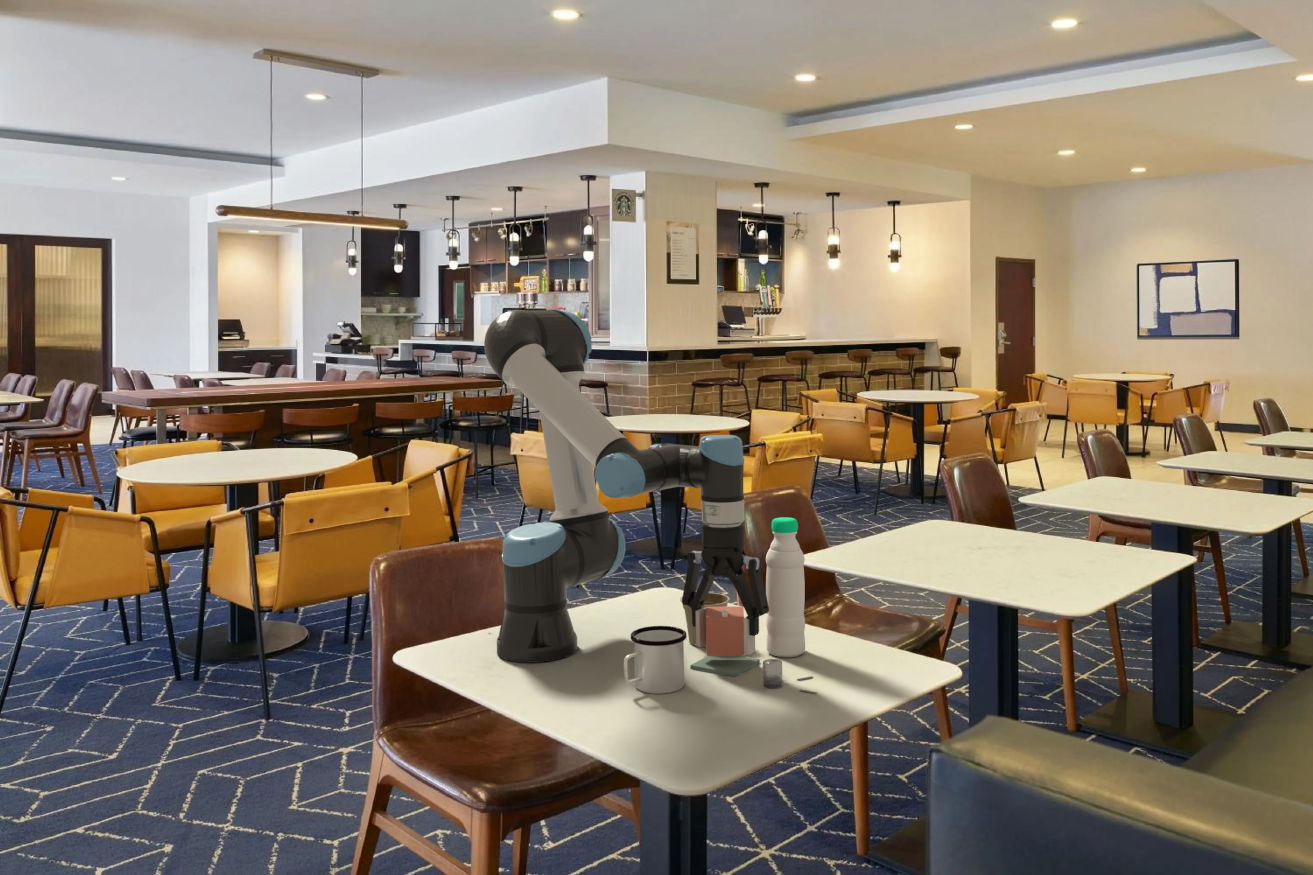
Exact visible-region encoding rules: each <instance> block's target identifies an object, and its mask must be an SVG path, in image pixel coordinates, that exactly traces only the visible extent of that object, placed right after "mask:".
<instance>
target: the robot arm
mask: <svg viewBox="0 0 1313 875" xmlns="http://www.w3.org/2000/svg"><path fill="white" fill-rule="evenodd" d="M483 342H484V344H483V345H484V353H485V357H486V360H487V362H488V364H489V365H490V367H491V369H492V370H493V371H494V373H495V374H496V375H497V376H498V378H499V379H501V381H502V382H504V383H505V385H507V386H509V387H513V388H517V389H518V390H519V391H520V392H521V393H522V394H523V395H524V396H525V397H526V398H527V399H528V401H530V402H531V403H532V405H534V407H535V408H536V409H537V410H539V416H540V421H541V428H542V434H543V440H544V446H545V452H546V453H545V454H546V460H547V465H548V471H549V477H550V483H551V484H550V485H551V488H552V490H551V491H552V495H553V500H554V506H555V507H554V508H555V510H554V511H553V513H552V514H551V516H550V517H549V522H547V521H546V522H545V521H544V522H541V521H540V522H536V523H529V524H525V525H521V526H518V527H516V528H513V529H511V530H510V531H508V532H507V533H506V535H505V536H504V538H503V541H502V553H501V560H502V561H501V562H502V575H503V576H502V578H503V594H504V600H503V601H504V614H503V618H502V621H501V624H500V629H499V632H498V637H497V638H496V654H497V655H498V657H499V658H501V659H504V660H507V661H510V662H516V663H517V662H519V663H542V662H550V661H557V660H560V659H565V658H566V657H570V656H571V655H573V654H575V653H576V652H577V651H578V635H577V633H576V632H575V629H574V626H573V622H572V619H571V617H570V612H569V611H568V604H567V603H568V602H567V601H568V599H567V598H568V597H567V595H568V594H567V589H569V588H572V587H575V586H578V585H582V584H585V583H589V582H592V581H600V580H601V579H603V578H605V577H607V576H610V575H612V574H614V573H615V572H616V571H617V570H618V569H619V567H620V565H621V564H622V562H623V560H624V558H625V552H626V539H625V534H624V532H623V530H622V528H621V527H620V526H618V522H616V520H613V519H612V518H610V516H609V509H608V508H607V507H606V506H604V505H603V504H602V503H601V502H600V501H599V497H598V490H597V486H596V483H597V485H598V489H599V491H600V492H601V493H602V494H603V495H604V496H607V497H609V498H612V499H620V498H621V499H622V498H624V499H625V498H632V497H635V496H638V495H643V494H647V493H652V492H653V493H654V492H658V491H663V490H667V489H672V488H677V487H678V488H695V489H700V495H701V496H700V498H701V500H700V502H701V504H700V505H701V522H702V523H704V524H702V526H701V543H702V545H703V546H702V550H701V551H700V550H698V549H695V550H692V551H690V552H688V553H687V555H686V558H687V564H688V565H687V572H686V577H685V581H684V587H683V591H682V592H683V594H682V596H683V597H682V596H681V597H682V602H681V604H682V606H683V605H688V606H689V607H691V609H692V624H693V626H694V627H696V645H695V646H696V647H697V648H701V646H703V645H705V644H706V608H704V607H703V608H702V606H704V605H705V604H704V602H705V599H706V597H707V595H708V593H710V590H711V588H712V586H713V584H714V582H715V579H716V577H721V576H722V577H724V578H728V579H729V581H730V582H731V584H733V586H734V588H735V590H736V593H737V596H738V598H739V599H740V602H741V604H742V607H743V610H744V612H745V614H746V615H747V616H744V656H749V655H751V654H753V653H754V652H756V636H757V635H759V633H760V617H762V616H763V615H766V614H768V612H769V606H768V601H767V597H766V587H765V583H764V579H763V574H762V570H761V568H762V558H761V557H760V556H757V557H752V556H748V555H747V554H746V551H745V545H746V544H745V543H746V536H745V535H746V532H745V531H746V530H745V525H744V524H743V522H744V521H745V515H746V514H745V497H744V472H745V471H744V466H745V465H744V464H745V458H744V450H743V449H744V446H743V440H742V438H740V437H739V436H737V435H734V434H710V435H705V436H702V437H701V438H700V439H699V440H700V441H699V445H688V444H687V445H686V444H674V443H671V442H670V443H669V442H667V443H654V444H651V445H650V446H649V447H648V448H646V449H645V448H644V449H638V448H637V446H635V445H634V444H633V443H632V442H631V441H630V439H629V440H628V438H627V437H626V436H624V434H623V433H621V432H620V430H619V429H617V427H615V426H614V425H613V424H612V422H611V421H609V419H607V417H606V416H605V415H604V414H602V413H601V411H600V410H599V409H597V407H596V406H594V404H592V402H591V401H590V400H589V399H588V398H586V397H585V396H584V395H583V394H582V393H581V389H580V382H581V380H582V378H583V377H584V376H585V369H584V367H585V366H584V365H585V364H586V363H587V362H588V361H589V358H590V354H591V353H592V347H593V346H592V345H593V343H592V337H591V333H590V330H589V328H588V326H587V324H586V323H585V321H584V320H582V318H580V317H579V316H578V315H576V313H573V312H570V311H565V310H560V309H543V310H542V309H535V310H534V309H533V310H524V309H523V310H522V309H514V310H509V311H506V312H503V313H501V314H499V316H497V317H495V319H494V320H493V321H492V322H491V323H489V326H488V328H487V330H486V332H485V336H484V341H483ZM594 468H595V470H594ZM703 561H704V563H705V565H706V567H705V568H704V569H705V570H704V572H703V574H702V578H701V581H700V583H699V578H700V571H701V565H702V562H703ZM744 565H745V569H746V570H747V575H748V580H749V583H748V581H747V579H746V573H745V571H744V568H743V566H744ZM698 583H699V586H698ZM749 584H750V585H749ZM703 604H704V605H703Z"/></svg>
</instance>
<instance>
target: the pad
mask: <svg viewBox="0 0 1313 875" xmlns="http://www.w3.org/2000/svg"><path fill="white" fill-rule="evenodd" d="M760 660H761V659H760V658H757V657H756V658H755V657H750V656H749V657H748V656H745V655H744V656H707V655H706V656H705V657H703V658H701V659H700V660H697V661H696V662H694V663H691V664H690V669H692V670H697V671H702V672H706V673H711V674H712V673H713V674H718V675H723V676H729V677H734V678H736V677H738V676H739V675H740V674H742V673H744V672H745V671H748V670H749V669H751V668H753V667H754V666H756V665H758V664H759V663H760Z"/></svg>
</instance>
